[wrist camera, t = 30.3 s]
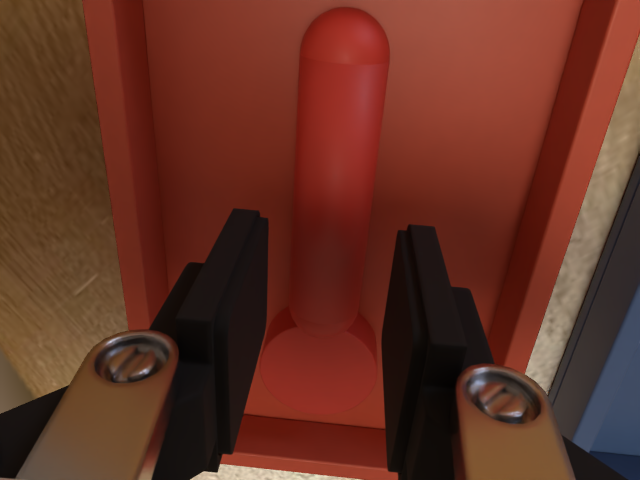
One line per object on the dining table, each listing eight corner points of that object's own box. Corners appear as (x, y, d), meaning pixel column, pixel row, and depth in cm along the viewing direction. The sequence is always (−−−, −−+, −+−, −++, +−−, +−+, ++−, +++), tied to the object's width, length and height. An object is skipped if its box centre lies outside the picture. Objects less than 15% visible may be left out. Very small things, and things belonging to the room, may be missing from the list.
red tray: (110, -123, 10) (61, -141, 9) (630, -88, 10) (685, -98, 8) (166, 408, 17) (145, 456, 16) (472, 441, 17) (485, 494, 15)
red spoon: (273, -3, 11) (257, 3, 9) (427, 9, 11) (438, 17, 9) (265, 379, 16) (254, 425, 14) (370, 390, 16) (370, 438, 14)
